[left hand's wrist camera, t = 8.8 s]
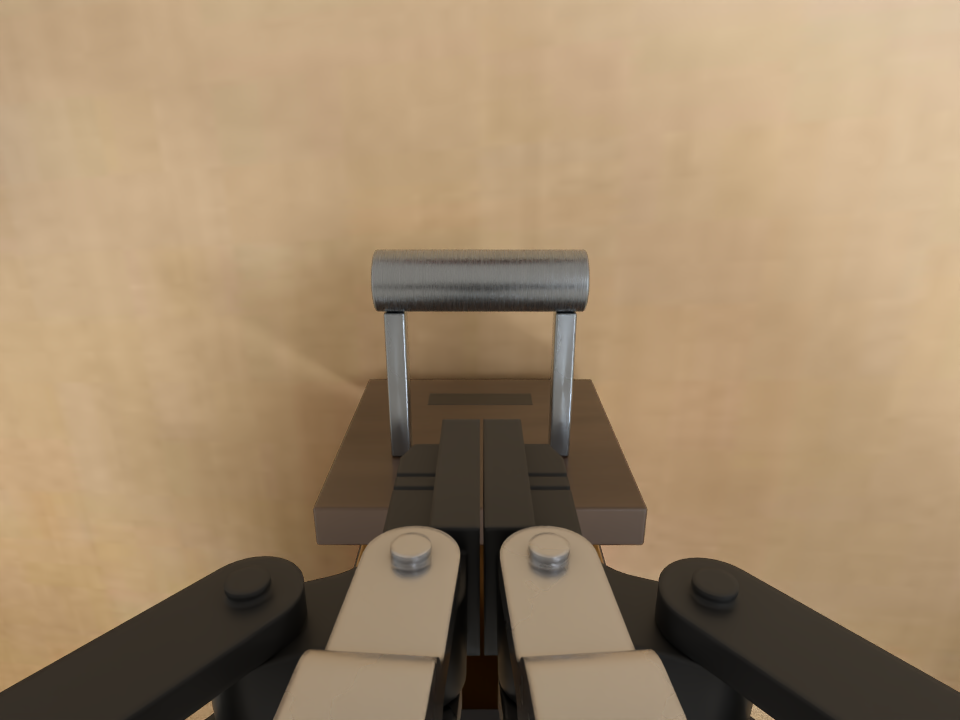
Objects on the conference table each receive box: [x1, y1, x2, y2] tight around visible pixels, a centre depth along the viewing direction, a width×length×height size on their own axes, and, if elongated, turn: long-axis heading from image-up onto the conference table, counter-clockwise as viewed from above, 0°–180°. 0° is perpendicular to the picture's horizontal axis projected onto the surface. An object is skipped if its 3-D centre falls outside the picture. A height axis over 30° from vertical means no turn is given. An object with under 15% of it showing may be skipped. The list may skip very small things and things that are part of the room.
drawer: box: [313, 250, 647, 709], centre depth 23 cm, size 26×9×9 cm, turn 0°
